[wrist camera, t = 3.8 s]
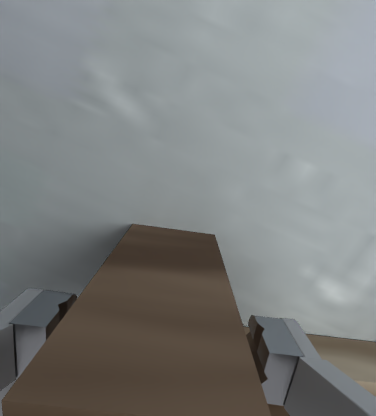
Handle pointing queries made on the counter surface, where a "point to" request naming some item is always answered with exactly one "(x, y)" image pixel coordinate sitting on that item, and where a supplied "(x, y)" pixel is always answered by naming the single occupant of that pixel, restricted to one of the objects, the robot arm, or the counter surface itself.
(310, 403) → the robot arm
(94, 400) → the stool leg
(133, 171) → the counter surface
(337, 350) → the stool seat
